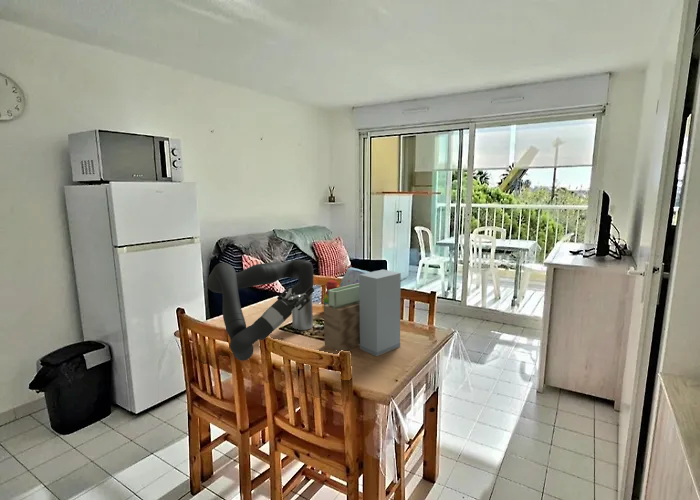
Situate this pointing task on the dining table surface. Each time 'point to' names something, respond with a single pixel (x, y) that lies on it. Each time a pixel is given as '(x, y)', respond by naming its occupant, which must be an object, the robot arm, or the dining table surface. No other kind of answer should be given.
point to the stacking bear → (330, 285)
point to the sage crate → (343, 296)
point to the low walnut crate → (342, 326)
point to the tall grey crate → (379, 311)
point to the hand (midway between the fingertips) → (306, 286)
